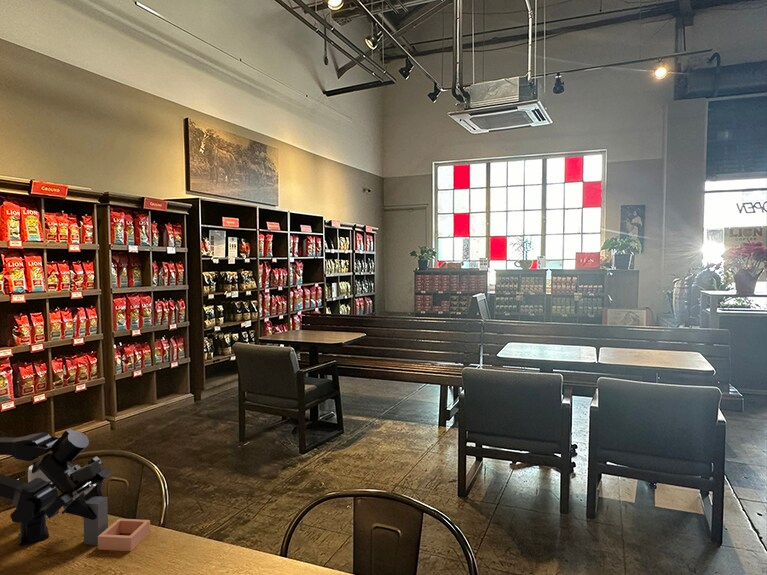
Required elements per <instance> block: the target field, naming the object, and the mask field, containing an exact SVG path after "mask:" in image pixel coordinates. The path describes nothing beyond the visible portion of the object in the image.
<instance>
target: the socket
mask: <svg viewBox="0 0 767 575" xmlns="http://www.w3.org/2000/svg"><path fill="white" fill-rule="evenodd" d="M120 534H123V535H120ZM124 534H125V535H124ZM126 534H130V535H126ZM149 534H151V520H150V519H138V518H137V519H135V518H134V519H133V518H118V519H117V520H116V521H114V522H113V523H112V524H110V526H108V528H107V529H106V530H105V531H104V532H102V533H101V534H100V535H99V536H98V545H97V550H98V551H99V550H102V551H119V552H120V551H121V552H132V551H133V550H134V549H135V548H136V547H137V546H138V545H139V544H140V543H141V542H142V541H144V539H145V538H146V537H147V536H149Z"/></svg>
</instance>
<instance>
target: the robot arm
mask: <svg viewBox="0 0 767 575" xmlns="http://www.w3.org/2000/svg"><path fill="white" fill-rule="evenodd" d="M89 444H90V440H89V437H88V436H87V435H86V434H85V433H83V432H81V431H77V430H76V431H75V430H73V429H72V428H68V429H66V430H65V431H64V432H62V434H61V436H60V437H59V436H53V435H50V434H49V433H48V432H39V433H32V434H28V435H25V436H19V437H7V436H5V437H4V436H3V437H2V436H1V437H0V456H11V457H13V458H14V459H16V460H20V461H25V462H31V461H33V460H36V459H37V460H36V461H34V462H32V465H33V468H32V473H35V472H37V471H39V470H41V471H42V472H43V473H44V474H45V476H46V477H47V478H48V479H49V480H50V481H45V480H43V479H41V478H35V479H34V480H32V481H30V482H28V481H27V482H25V481H21V480H18V479H16V478H13V477H12V476H7V475H5V474H2V473H0V498H3V499H6V500H9V501H12V503H13V505H14V507H15V509H14V510H13V511H12V512H11V513H10V515H9V516H10V519H11V521H12V523H18V524H19V525H20V526H19V528H20V529H19V531H20V533H18V535H17V537H18V546H24V545H27V544H31V543H34V542H38V541H42V540H45V539H49V538H50V533H49V529H48V526H47V519H49V520H51V519H52V518H53V517H55V516H57V515H58V514H59V513H60V510H61V509H62V508H63V511H62V512H61V514H62V515H63V514H69V515H73V516H79V517H82V518H83V519H84V518H88V519H91V520H95V519H96V518H97V516H96V515H95V513H94V512H93V511H92V509H91V508H90V507H89V506H88V505H87V503H86V501H87V500H89V499H90V498H92V497H93V496H98V497H104V495H103V493H102V486H103V483H104V480H106V479H107V477H109V476H110V475H111V472H110V471H109V470H108V469H107V468H102V467H103V465H104V462H103V461H102V460H101V459H100V458H99V457H98V456H94V457H92V458H90V459H89V460H87V464H86V465H84V466H82V467H81V466H80V465H79V464H75V465H73V464H71V463H70V462H73V461H74V460H75V459H76V458H77V457H78V456H79V455H80V454H81V453H82V452H83V451H84V450H85V449H86V448H87V447H89ZM49 452H51V453H49ZM41 456H43V457H42V458H40V457H41ZM38 458H40V459H38ZM51 482H52V484H50V483H51ZM58 490H59V491H58ZM58 492H60V493H61V494H59V493H58ZM46 516H47V518H46Z"/></svg>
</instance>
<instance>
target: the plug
mask: <svg viewBox="0 0 767 575" xmlns="http://www.w3.org/2000/svg"><path fill="white" fill-rule="evenodd" d="M108 497H109V496H103V497H98V496H93V497H92V498H90V499H89V500H87V501H86V500H85V502H86V503H87V505H88V506H89V507H90V508H91V509H92V511H93V512H94V513H95V515H96V516H97V518H96V519H95V520H91V519H88V518H84V517H83V544H84V545H95V546H98V536H99V535H100V534H101V533H102V532H104V531H105V530H106V529H107V528H108V527H109V517H108V516H109V514H108V513H109V512H108V511H109V510H108V509H109V507H108V506H109V505H108V501H109V499H108Z"/></svg>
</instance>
